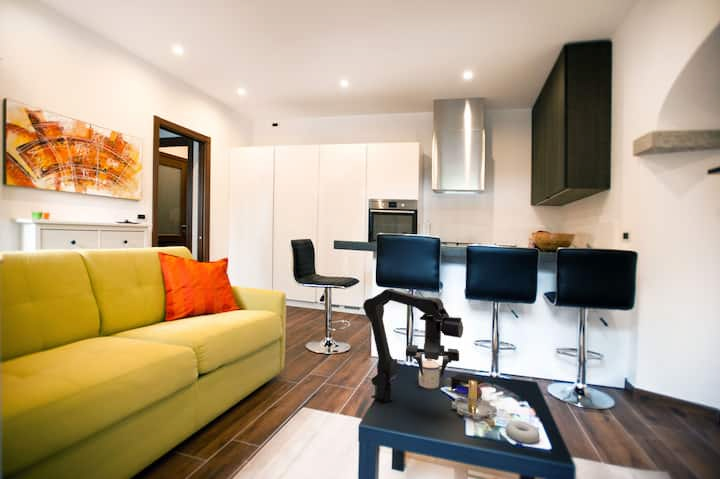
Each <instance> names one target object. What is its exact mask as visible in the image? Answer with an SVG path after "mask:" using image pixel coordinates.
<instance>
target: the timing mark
mask: <svg viewBox="0 0 720 479" xmlns="http://www.w3.org/2000/svg"><path fill="white" fill-rule="evenodd" d="M484 422H485V423H486V424H487V425H489V426H494V425H495V424H496V422H495V421H494V420H493V419H492V418H490V419H489V418H486V419H485V420H484Z"/></svg>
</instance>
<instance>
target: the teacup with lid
mask: <svg viewBox="0 0 720 479" xmlns="http://www.w3.org/2000/svg"><path fill="white" fill-rule="evenodd" d="M422 362H423V376H422V375H421V372H420V368H419V367H418V368H419V369H418V385H419V386H420V387H422V388H425V389H430V390H431V389H437V388H439V385H440V370H441V365H440V363H439V362H436V360H434V359H424V360H422Z"/></svg>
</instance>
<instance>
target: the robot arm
mask: <svg viewBox="0 0 720 479" xmlns="http://www.w3.org/2000/svg"><path fill="white" fill-rule="evenodd" d="M391 301H392V302H395V303H398V304H402V305H406V306H409V307H412V308H415V309H417V310H418V311H420V312H421V313H423V315H422V316H420V317H419V320H421V321H424V322H425V323H424V344H423V348H419V346H418V345H416V344H408V345H406V348H405V356H406V357H412V359H413V360H416V362H417V365H418V368H420V372H421V375H422V376H423V362H422V361H423V355H424V360H427V359H432V360H433V361H438V360H439V359H440V358H439V357H442V362H441V366H440V375H439V379H440V378H441V379H442V377H443V375H444V372H445V370H446V367H447V366H448V364H451V363H452V362H460V351H459V349H457V348H447V351H446V350H445V345H444V344H443V345H442V341H441V340H442V334H443V335H444V336H447V337H453V338H459V339H461V338H462V336H463V334H464V325H463V322H462V317H458V316H457V317H456V316H455V317H453V316H450V315H449V313H448V312H447V310H446V308H445V306H444V303H443V301H442V299H441V298H438V297H431V296H428V297H425V296H424V297H421V296H418V295H414V294H411V293H407V292H403V291H398V290H395V289H394V288H387V289H384V290H383V291H381V292H380V293H379V294H376V295H375V296H373V297H370V298H367V299H366V300H364V302H363V304H362V305H363V307H362V308H363V310H364V313H365V316H366V317H367V319H368V320H369V322H370V323H371V328H372V332H373V333H372V334H373V338H374V339H373V340H374V344H375V347H376V348H375V349H376V352H377V358H378V359H377V366H376V372H377V374H376V375H374V376H373V377H372V378H371V384H372V385H373V386H374V395H371V398H372V399H373V400H375V398H376V400H375V401H377V402H379V403H380V404H383V403H386V402H391V401H394V400H395V398H394V397H392V384H391V382H393V381H394V380H395V378H396V377H397V376H398V374H399V370H400V367H399V366H398V359H397V358H395V359H394V358H393V357H392V356H391V353H390V352H391V351H390V348H389V342H388V338H387V333H386V329H385V323H384V314H385V305H387V304H389V302H391Z"/></svg>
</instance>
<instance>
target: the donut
mask: <svg viewBox="0 0 720 479" xmlns="http://www.w3.org/2000/svg"><path fill="white" fill-rule="evenodd" d="M505 432H506V434H507V435H508V437H510V438H511V439H513V440H514V441H517V442H519V443H522V444H523V443H525V444H533V443H536V442H537V441H538V440H539V439H540V432H539V430H538V429H537V428H536V426H534V425H533V424H530V423H528V422H525V421H520V420H513V421H509V422H508V423H507V424H506V425H505Z"/></svg>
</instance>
